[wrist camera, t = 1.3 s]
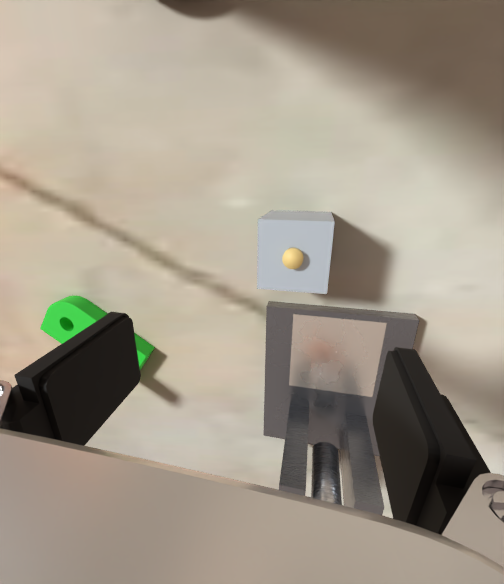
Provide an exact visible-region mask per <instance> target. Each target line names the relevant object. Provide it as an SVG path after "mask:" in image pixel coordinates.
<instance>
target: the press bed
mask: <svg viewBox="0 0 504 584" xmlns="http://www.w3.org/2000/svg"><path fill="white" fill-rule="evenodd" d="M418 324H419V319H418V318H417V316H416V315H415V314H408V313H396V312H385V311H374V310H362V309H351V308H339V307H328V306H317V305H305V304H294V303H282V302H271V301H269V302H268V305H267V318H266V360H265V402H264V435H265V436H270V437H276V438H281V439H285V445H284V453H283V460H282V468H281V476H280V483H279V490H281V491H285V492H290V493H294V494H298V495H302V496H305V491H306V468H307V446H308V443H309V444H316V443H319V442H328V443H331V444H333V445H334V446H335V447H336V448H337V449H340V459H341V473H342V486H343V499H344V506H347V507H351V508H355V509H359V510H363V511H367V512H371V513H375V514H379V515H382V514H383V510H384V504H383V499H382V494H381V489H380V484H379V479H378V473H377V468H376V463H375V458H374V455H376V456H380V455H379V450H378V445H377V441H376V436H375V432H374V427H373V411H374V407H375V403H376V398H377V394H378V390H379V385H380V381H381V377H382V373H383V368H384V364H385V360H386V355H387V352H388V351H393V350H394V348H395V347H399V348H407V349H413V344H414V340H415V336H416V332H417V328H418Z"/></svg>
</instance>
